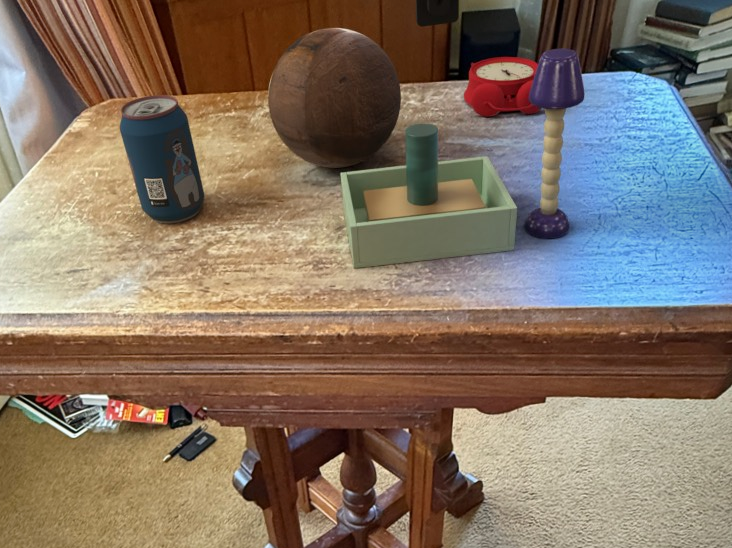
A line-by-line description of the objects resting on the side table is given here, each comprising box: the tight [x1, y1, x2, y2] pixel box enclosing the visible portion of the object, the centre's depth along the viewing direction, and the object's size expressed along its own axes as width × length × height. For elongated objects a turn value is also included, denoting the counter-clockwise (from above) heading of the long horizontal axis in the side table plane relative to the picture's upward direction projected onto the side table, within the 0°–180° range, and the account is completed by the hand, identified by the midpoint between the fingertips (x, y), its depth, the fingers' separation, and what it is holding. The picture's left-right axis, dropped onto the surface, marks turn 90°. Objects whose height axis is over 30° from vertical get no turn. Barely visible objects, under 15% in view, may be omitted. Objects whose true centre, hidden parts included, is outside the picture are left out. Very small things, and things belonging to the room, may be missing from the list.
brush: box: [363, 122, 486, 222], centre depth 68 cm, size 11×6×10 cm, turn 94°
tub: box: [340, 155, 518, 269], centre depth 71 cm, size 15×11×4 cm
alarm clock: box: [463, 56, 543, 118], centre depth 94 cm, size 10×6×15 cm
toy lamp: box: [524, 48, 585, 239], centre depth 65 cm, size 5×5×17 cm
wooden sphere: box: [267, 27, 402, 169], centre depth 81 cm, size 15×15×15 cm
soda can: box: [119, 94, 205, 225], centre depth 76 cm, size 7×7×12 cm
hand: (426, 7), depth 59 cm, fingers open, 9 cm apart
